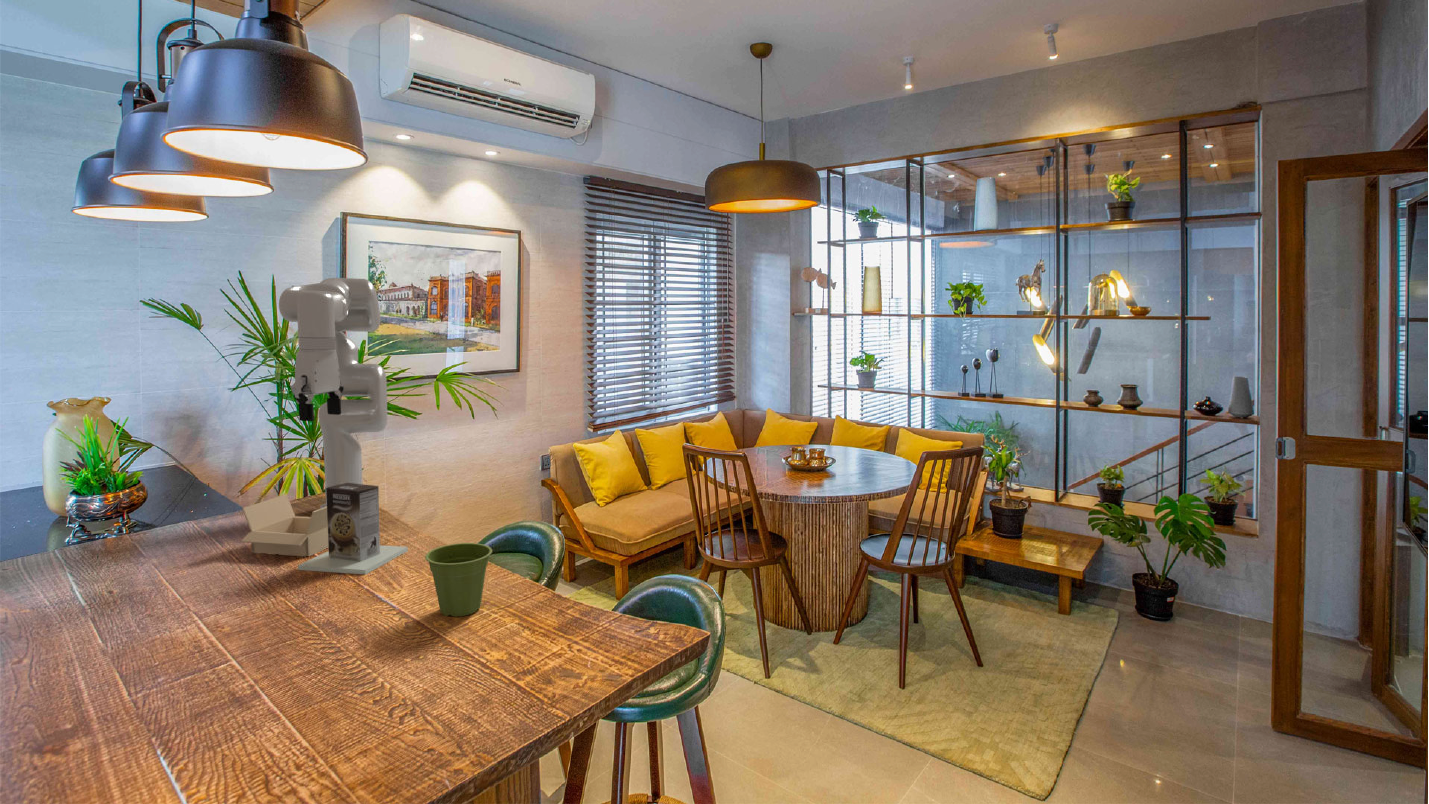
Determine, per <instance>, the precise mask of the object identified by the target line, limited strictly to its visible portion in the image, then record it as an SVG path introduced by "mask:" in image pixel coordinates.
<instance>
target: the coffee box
mask: <svg viewBox="0 0 1429 804" xmlns="http://www.w3.org/2000/svg"><path fill="white" fill-rule="evenodd" d="M326 497H327V521H328V546H329V548H328V551H329V557H333V558H340V559H347V560H354V561H363V560H365V559H368V558H370V557H373V556H375V555H378V554H380V545H381V544H380V542H381V541H380V540H381V539H380V538H381V537H380V494H379V485H372V484H363V483H362V484H354V483H344V484H339V485H334V486H331V487H328V488H326V489H325V498H326Z"/></svg>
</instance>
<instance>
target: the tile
mask: <svg viewBox="0 0 1429 804" xmlns="http://www.w3.org/2000/svg"><path fill="white" fill-rule="evenodd" d="M408 551H409V550H408V546H400V545H399V546H397V545H385V544H384V545H382V544H380V554H378V555H375V556H373V557H370V558H368V559H365V560H363V561H354V560H347V559H340V558H333V557H329V550H327V551H326V552H324V553H321V554H319V555H317V556H314V557H313V558H310V559H309V560H308V559H307V560H306V561H304V562H302V563H300V564H297V570H298V571H307V572H323V573H325V572H326V573H339V574H352V575H365V576H366V575H367V574H369V573H371V572H372V571H375V570H377V569H378V568H380V567H382V566H384V565H386V564H387V563H388V562H390V561H392V559H393V560H394V559H397V558H398V557H400V556H402V555H403V554H405V553H407V552H408ZM401 554H402V555H401ZM397 556H398V557H397Z"/></svg>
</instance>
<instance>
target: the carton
mask: <svg viewBox="0 0 1429 804" xmlns="http://www.w3.org/2000/svg"><path fill="white" fill-rule="evenodd" d="M241 509H242V512H243V515H244V517H245V520H246V522H247V525H248V528H249V530H250V531H249V532H248V533H247V534H246V535H245V536H244V538H243V539H242V540H241V543H247V544H250V546H251V547H250V550H251V553H252V554H260V553H270V554H269V555H275V554H279V555H280V556H293V557H295V556H296V557H306V556H309V557H311V556H313V554H314V553H316V554H318V553H320V552H322V551H324V549H325V550H327V549H329V546H328V521H327V507H324V508H321V509H320V508H318V509H316V510H314V511H312V513H311V516H305V515H302V516H301V515H296V514H295V512H294V510H293V507H292V504H291V502H290V499H289V497H288V494H287V493H285V494H283V495H280V496H277V497H273V498H270V499H267V500H263V501H261V502H260V501H259V502H258V503H254V504H251V505H248V506H247V505H246V506H244V507H242V508H241ZM326 548H327V549H326ZM279 555H278V556H279ZM314 555H315V554H314Z"/></svg>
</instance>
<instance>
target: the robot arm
mask: <svg viewBox="0 0 1429 804" xmlns="http://www.w3.org/2000/svg"><path fill="white" fill-rule="evenodd" d="M278 309H279V313H280V315H281V317H282V318H283V319H284V320H285V321H288V322H291V323H293V322H294V323H297V335H298V339H297V340H298V351H296V352H297V353H296V359H295V369H294V370H295V371H294V383H293V384H292V385H290V389H291V392H292V394H293V398H294V400H296V401H295V402H296V404H298V415H299V417H298V418H299V421H302V422H314V420H315V416H314V415H315V414H314V403H312V401H313V400H314V397H315V396H317V395H323V394H327V396H328V397H327V398H326V402H325V403H323V404H321V406H320V407H319V409H318V421H319V426H320V430H321V435H322V443H323V444H322V445H323V458H324V459H323V462H324V483H325V484H324V485H325V487H324V488H325V490H326V488H328V487H331V486H334V485H339V484H344V483H354V484H363V462H362V447H361V444H360V443H359V442H358V441H357V439H355V438H354V436H352V435H351V434H357V433H358V434H359V433H360V434H361V433H377V432H379V433H380V432H382V431H384V430H385V429H386V427H387V424H388V387H387V385H388V383H387V375H386V374H387V373H386V372H385V369H384V367H382V365H380V364H376V363H360V362H359V348H358V346H357V345H356V343H355V342H354V341H353V340H352V339H351V338H350V337H349V336H348V335H346V334H345V332H366V333H367V332H370V333H371V332H374V331H377V330H378V329H379V328H380V326H381V319H382V318H381V311H380V305H379V299H378V295H377V290H376V288H375V286H374V285H373V283H372V282H371V281H370V280H368V279H365V278H353V277H351V278H348V277H347V278H346V277H329V278H325V279H323V280H321V281H320V282H319V283H318V282H317V283H312V284H311V283H310V284H303V285H296V286H290V287H287V288H285V289H284V290H283V291H282V293H281V294H280V296H279V299H278ZM342 397H368V398H369V399H342ZM324 507H327V497H326V496H325V502H324V503H323V504H321V505H320V507H319V509H321V508H324Z"/></svg>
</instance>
